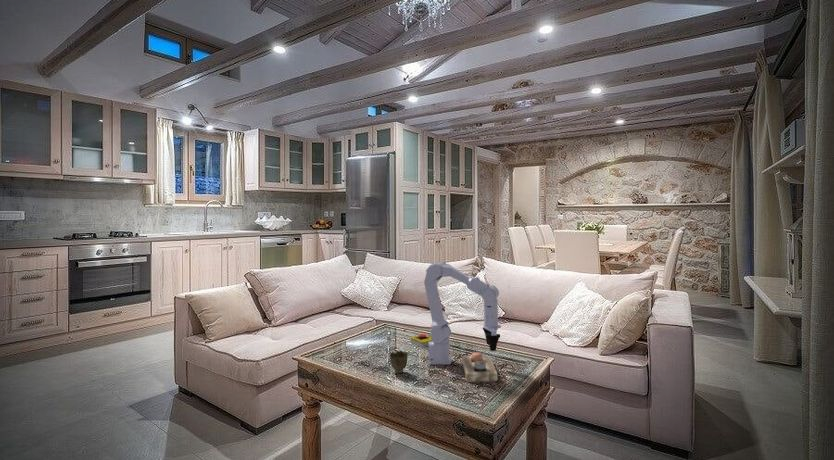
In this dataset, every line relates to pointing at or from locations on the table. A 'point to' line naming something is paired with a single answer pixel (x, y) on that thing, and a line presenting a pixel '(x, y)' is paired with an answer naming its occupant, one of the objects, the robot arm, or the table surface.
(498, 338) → the robot arm
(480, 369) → the grey button
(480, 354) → the terracotta button
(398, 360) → the cup
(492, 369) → the button panel
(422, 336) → the emergency button
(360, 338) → the table surface
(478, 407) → the table surface
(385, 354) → the table surface
